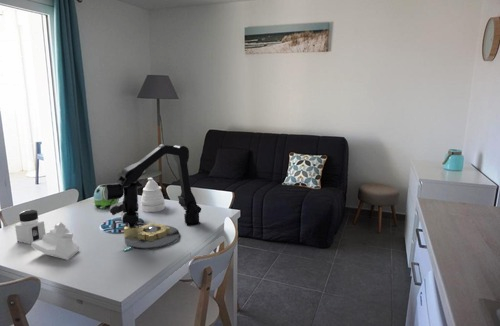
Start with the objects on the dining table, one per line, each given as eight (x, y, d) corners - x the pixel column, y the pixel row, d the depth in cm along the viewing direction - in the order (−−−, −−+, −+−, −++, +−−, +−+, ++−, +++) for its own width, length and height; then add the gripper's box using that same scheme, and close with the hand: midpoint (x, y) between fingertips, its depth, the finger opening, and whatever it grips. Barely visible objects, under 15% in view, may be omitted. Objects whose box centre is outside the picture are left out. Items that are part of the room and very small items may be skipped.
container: (46, 237, 146) (42, 209, 144) (29, 244, 139) (25, 215, 137) (33, 234, 149) (30, 207, 146) (16, 241, 142) (12, 213, 139)
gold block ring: (169, 226, 155) (169, 218, 154) (169, 239, 140) (169, 230, 139) (127, 229, 150) (126, 221, 149) (122, 243, 136) (121, 234, 135)
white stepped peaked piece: (61, 248, 139) (67, 215, 139) (82, 260, 132) (89, 225, 132) (29, 253, 128) (37, 217, 128) (51, 265, 121) (59, 228, 121)
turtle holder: (109, 211, 179) (107, 190, 177) (89, 206, 188) (87, 186, 186) (128, 205, 190) (127, 185, 187) (108, 200, 199) (106, 181, 197)
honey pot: (161, 212, 179) (159, 180, 176) (137, 211, 180) (135, 180, 176) (167, 204, 192) (165, 174, 188) (145, 204, 192) (143, 174, 189)
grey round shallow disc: (175, 225, 160) (174, 215, 160) (182, 244, 139) (182, 233, 138) (124, 231, 153) (123, 221, 152) (123, 253, 131) (122, 241, 130)
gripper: (112, 191, 149) (113, 223, 152) (108, 204, 131) (110, 240, 135) (138, 190, 152) (138, 221, 155) (138, 203, 135) (138, 238, 138)
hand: (131, 230), depth 146 cm, fingers closed
